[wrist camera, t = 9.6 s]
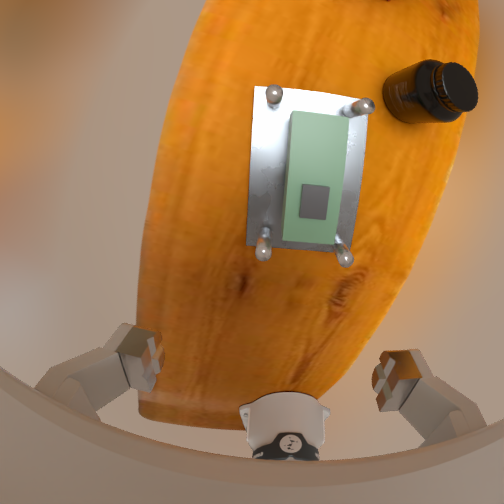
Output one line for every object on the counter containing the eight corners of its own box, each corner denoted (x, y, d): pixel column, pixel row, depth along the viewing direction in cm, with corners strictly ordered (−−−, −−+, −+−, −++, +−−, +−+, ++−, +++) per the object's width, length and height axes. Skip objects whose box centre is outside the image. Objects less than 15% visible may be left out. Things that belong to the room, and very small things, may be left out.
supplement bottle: (421, 131, 27) (480, 136, 16) (376, 110, 27) (426, 101, 16) (430, 86, 24) (487, 76, 13) (386, 64, 24) (435, 38, 13)
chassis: (346, 249, 34) (362, 276, 28) (246, 241, 35) (240, 267, 28) (365, 102, 27) (388, 94, 20) (255, 88, 27) (250, 74, 21)
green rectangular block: (289, 114, 25) (293, 109, 20) (337, 120, 25) (351, 117, 20) (281, 225, 30) (282, 242, 25) (325, 229, 30) (335, 247, 25)
